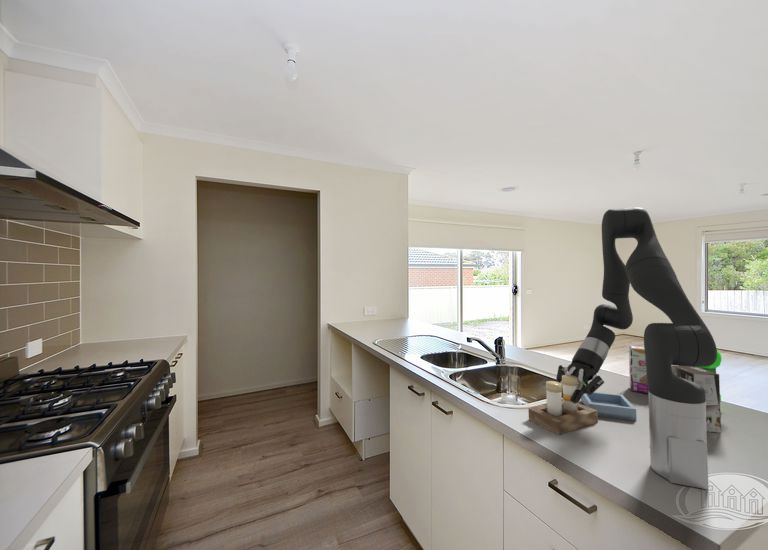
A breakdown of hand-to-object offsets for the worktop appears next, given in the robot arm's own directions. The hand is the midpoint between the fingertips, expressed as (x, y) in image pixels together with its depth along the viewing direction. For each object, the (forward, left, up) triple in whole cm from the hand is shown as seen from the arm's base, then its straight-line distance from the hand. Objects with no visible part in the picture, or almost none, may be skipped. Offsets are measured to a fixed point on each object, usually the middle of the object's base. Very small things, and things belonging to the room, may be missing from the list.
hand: (566, 398), depth 94 cm
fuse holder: (-1, +1, -6) cm, 7 cm away
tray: (+12, -13, -6) cm, 19 cm away
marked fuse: (+1, -1, -6) cm, 6 cm away
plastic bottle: (+25, -42, -7) cm, 50 cm away
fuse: (-4, +4, -6) cm, 8 cm away
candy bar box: (+35, -32, -7) cm, 48 cm away
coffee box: (+9, -34, -7) cm, 36 cm away
